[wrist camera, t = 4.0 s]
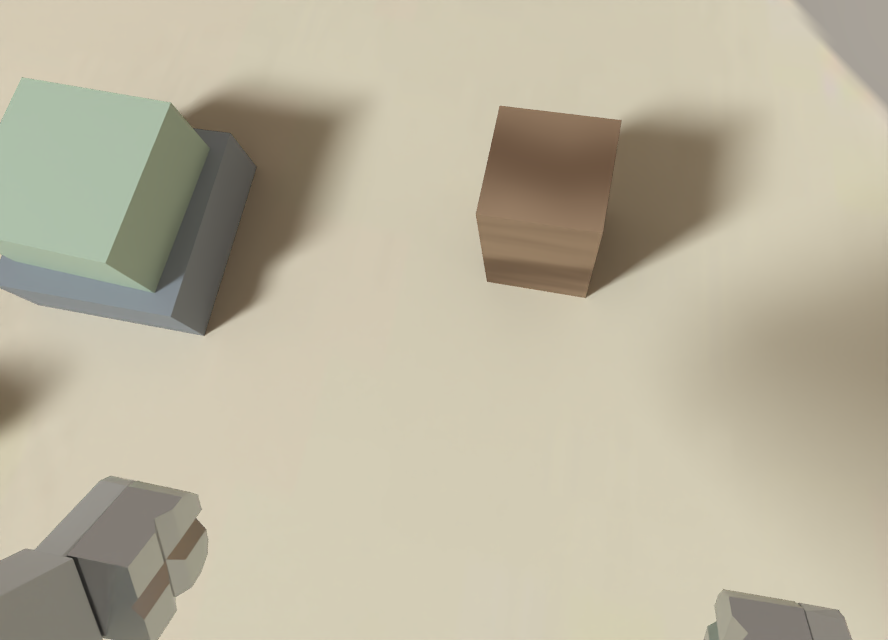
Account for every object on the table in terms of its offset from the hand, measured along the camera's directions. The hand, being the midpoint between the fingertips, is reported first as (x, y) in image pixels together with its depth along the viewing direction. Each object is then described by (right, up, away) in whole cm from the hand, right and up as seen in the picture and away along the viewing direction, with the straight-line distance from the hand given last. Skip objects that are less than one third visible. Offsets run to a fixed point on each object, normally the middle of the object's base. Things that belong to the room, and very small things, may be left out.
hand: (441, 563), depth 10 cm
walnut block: (+5, +8, +24) cm, 26 cm away
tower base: (-16, +8, +28) cm, 33 cm away
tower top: (-17, +10, +24) cm, 31 cm away
